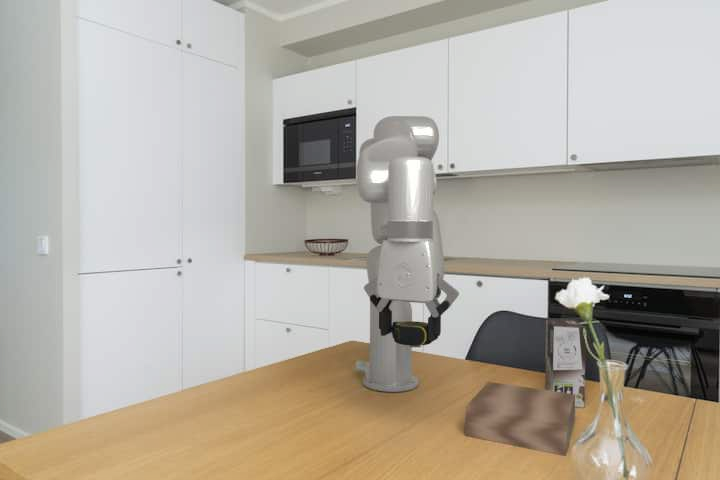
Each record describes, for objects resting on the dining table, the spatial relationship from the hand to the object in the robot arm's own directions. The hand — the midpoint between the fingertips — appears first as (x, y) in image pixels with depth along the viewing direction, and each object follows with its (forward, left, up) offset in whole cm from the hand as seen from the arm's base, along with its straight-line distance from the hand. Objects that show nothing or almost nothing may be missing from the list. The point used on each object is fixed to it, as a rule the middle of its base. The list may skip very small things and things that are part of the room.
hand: (409, 336), depth 84 cm
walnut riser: (+16, +14, -17) cm, 27 cm away
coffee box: (+21, +34, -18) cm, 43 cm away
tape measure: (0, +1, -2) cm, 2 cm away
